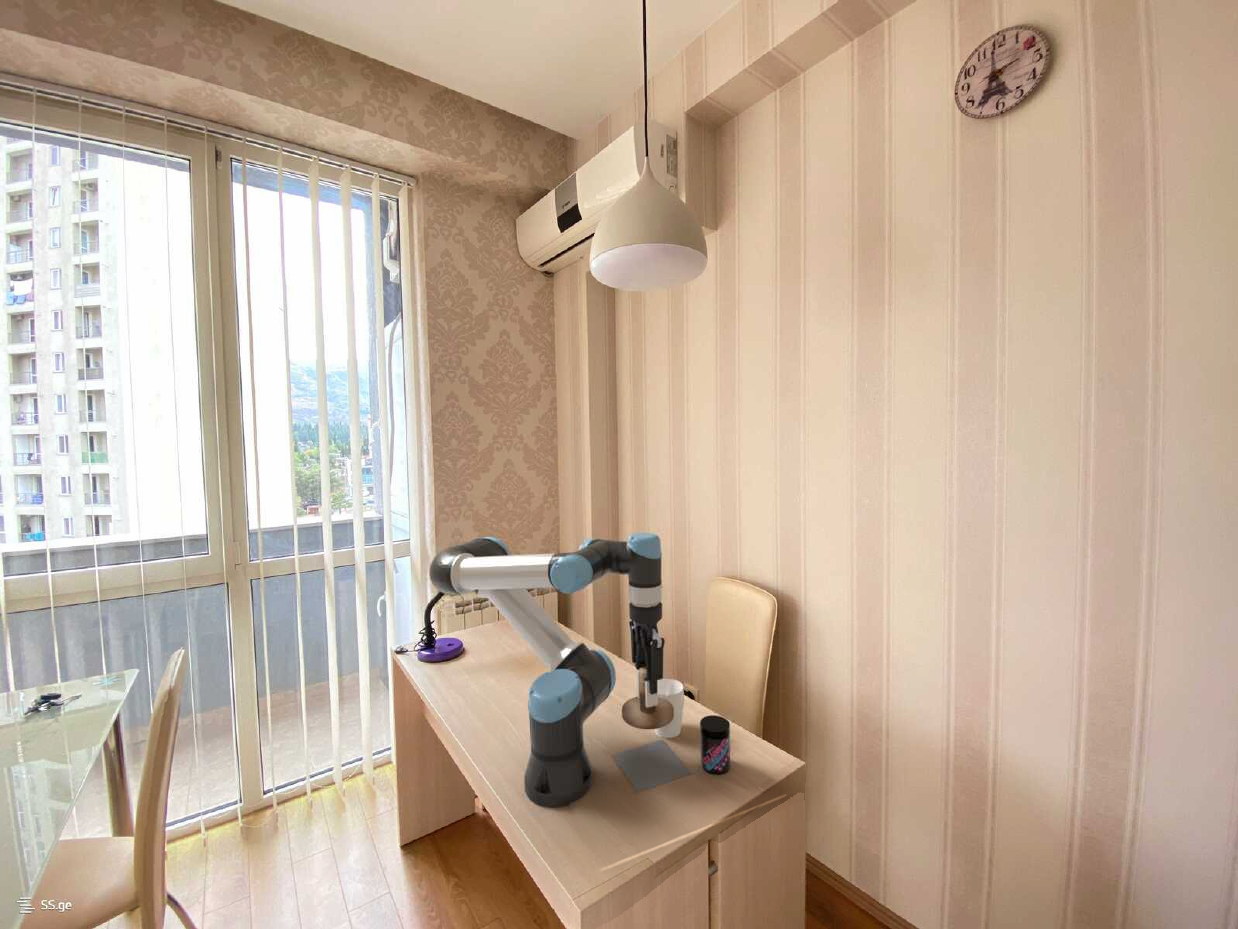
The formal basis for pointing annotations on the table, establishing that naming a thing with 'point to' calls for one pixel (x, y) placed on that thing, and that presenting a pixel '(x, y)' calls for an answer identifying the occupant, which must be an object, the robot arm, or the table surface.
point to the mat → (651, 765)
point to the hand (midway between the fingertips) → (647, 700)
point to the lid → (646, 709)
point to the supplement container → (715, 744)
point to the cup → (675, 696)
